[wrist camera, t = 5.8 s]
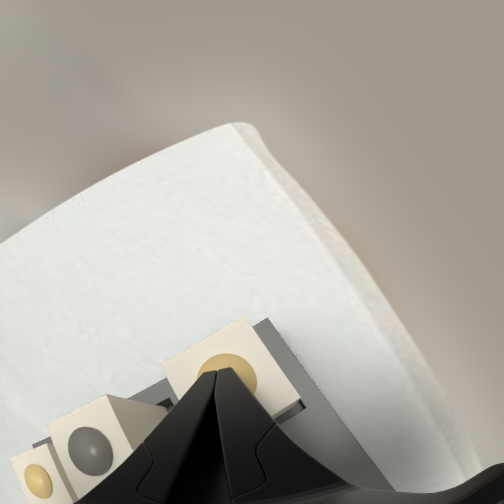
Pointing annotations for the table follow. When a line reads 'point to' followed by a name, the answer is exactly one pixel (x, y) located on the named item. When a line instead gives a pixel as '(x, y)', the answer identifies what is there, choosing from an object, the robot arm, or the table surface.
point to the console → (297, 418)
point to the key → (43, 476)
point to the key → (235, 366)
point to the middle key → (101, 437)
